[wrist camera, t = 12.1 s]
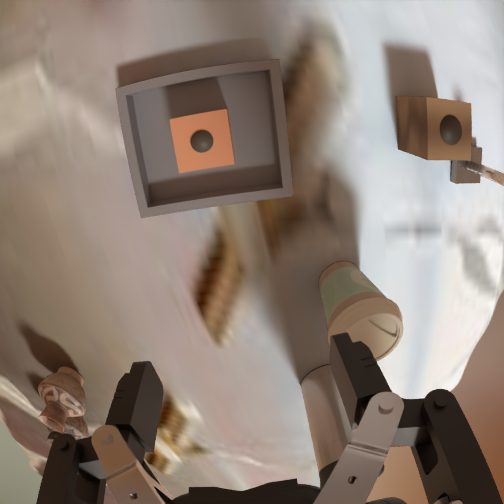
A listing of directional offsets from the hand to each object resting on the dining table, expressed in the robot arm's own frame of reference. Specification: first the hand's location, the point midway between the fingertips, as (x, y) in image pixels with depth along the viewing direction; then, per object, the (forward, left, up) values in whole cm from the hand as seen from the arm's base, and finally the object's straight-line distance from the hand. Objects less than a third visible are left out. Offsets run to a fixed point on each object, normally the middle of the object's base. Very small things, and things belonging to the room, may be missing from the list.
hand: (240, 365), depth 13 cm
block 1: (+8, +2, -23) cm, 24 cm away
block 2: (+8, -23, -24) cm, 34 cm away
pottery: (-34, +40, -24) cm, 58 cm away
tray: (+8, +2, -23) cm, 25 cm away
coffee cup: (-12, -12, -24) cm, 29 cm away
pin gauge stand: (+3, -31, -23) cm, 39 cm away
